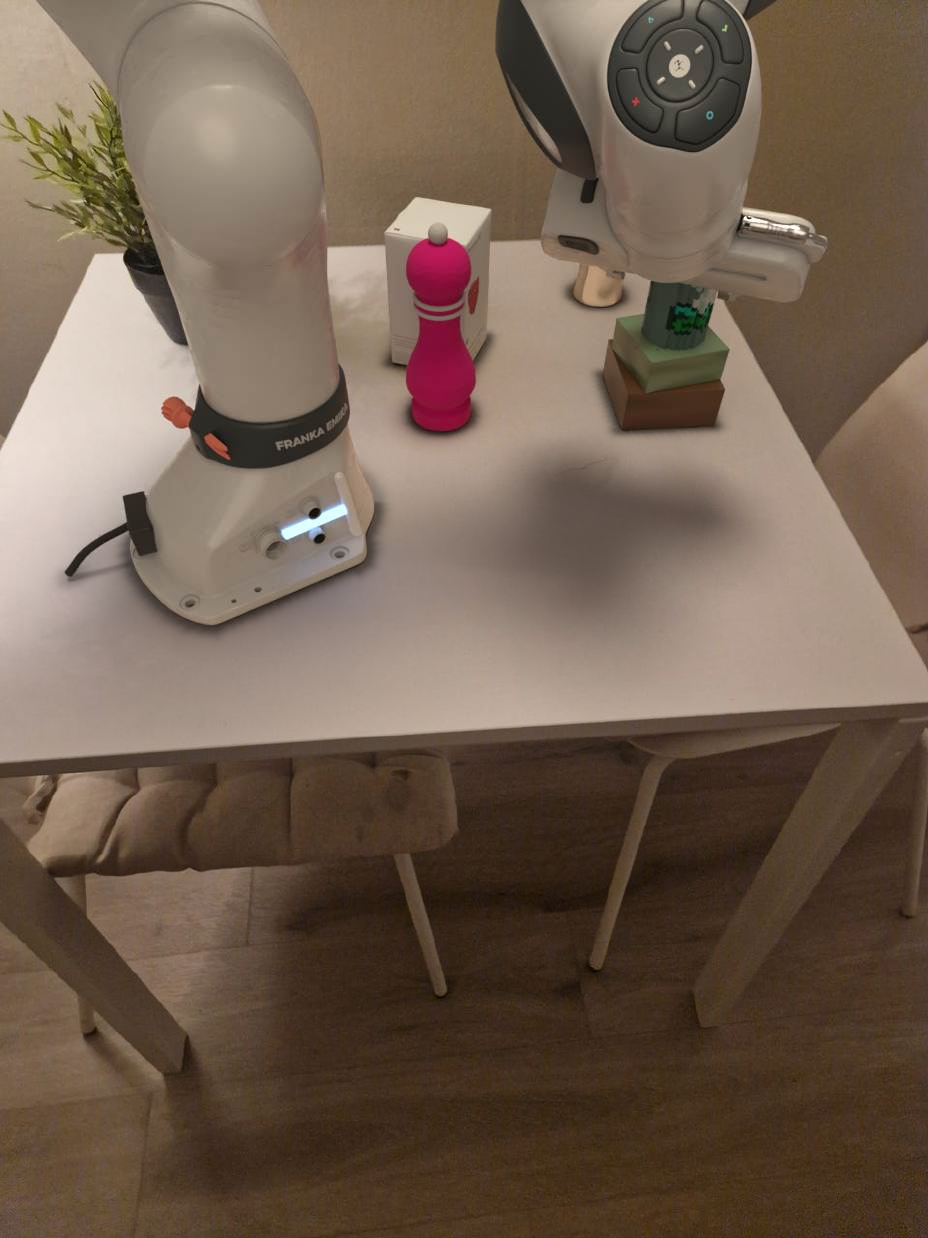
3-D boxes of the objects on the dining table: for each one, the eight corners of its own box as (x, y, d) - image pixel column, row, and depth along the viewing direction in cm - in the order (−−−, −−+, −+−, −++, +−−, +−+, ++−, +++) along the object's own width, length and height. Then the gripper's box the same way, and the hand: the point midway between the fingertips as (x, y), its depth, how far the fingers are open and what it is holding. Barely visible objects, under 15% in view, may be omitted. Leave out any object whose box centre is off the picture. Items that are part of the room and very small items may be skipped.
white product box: (464, 379, 89) (466, 245, 77) (390, 364, 91) (380, 231, 79) (489, 337, 94) (494, 206, 83) (418, 323, 96) (413, 193, 84)
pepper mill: (478, 395, 87) (482, 206, 71) (472, 437, 82) (475, 245, 67) (412, 391, 87) (402, 202, 72) (403, 432, 83) (390, 240, 67)
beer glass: (571, 278, 103) (585, 153, 91) (624, 282, 102) (646, 157, 91) (567, 306, 99) (582, 178, 87) (624, 311, 98) (647, 182, 86)
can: (681, 356, 78) (721, 197, 66) (630, 333, 80) (659, 175, 69) (715, 332, 80) (758, 174, 69) (664, 310, 83) (698, 155, 71)
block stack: (714, 425, 84) (735, 358, 78) (621, 430, 83) (634, 363, 77) (689, 370, 90) (706, 304, 84) (602, 374, 89) (613, 308, 83)
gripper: (849, 185, 51) (810, 265, 65) (545, 137, 56) (568, 221, 69) (817, 284, 52) (786, 342, 65) (521, 229, 56) (548, 294, 70)
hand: (672, 280), depth 67 cm, fingers open, 8 cm apart
